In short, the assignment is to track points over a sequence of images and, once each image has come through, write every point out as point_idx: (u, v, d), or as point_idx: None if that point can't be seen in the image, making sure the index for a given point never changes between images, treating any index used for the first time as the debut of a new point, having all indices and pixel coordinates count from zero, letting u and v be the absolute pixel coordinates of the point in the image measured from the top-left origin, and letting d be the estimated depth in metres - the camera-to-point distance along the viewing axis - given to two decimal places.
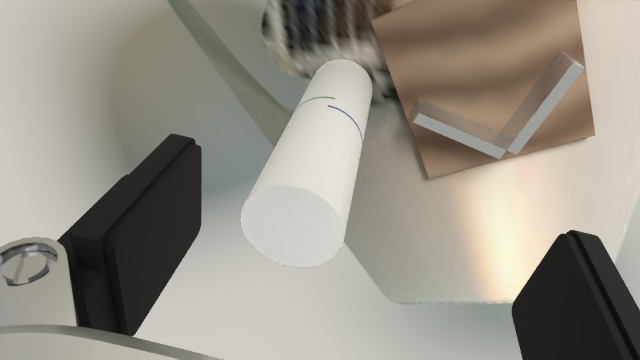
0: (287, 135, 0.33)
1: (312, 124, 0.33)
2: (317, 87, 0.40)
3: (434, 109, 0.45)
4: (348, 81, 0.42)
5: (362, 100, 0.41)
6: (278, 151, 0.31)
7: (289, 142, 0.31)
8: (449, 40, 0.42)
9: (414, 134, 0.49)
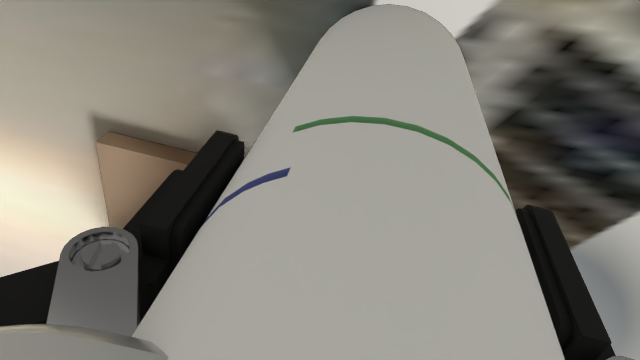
0: None
1: None
2: None
3: None
4: None
5: None
6: None
7: None
8: None
9: None
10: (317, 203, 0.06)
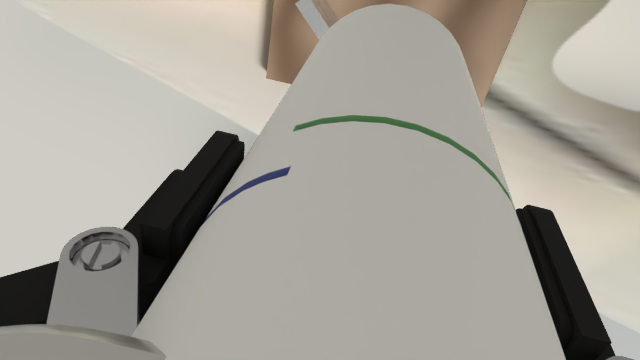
0: None
1: None
2: None
3: None
4: None
5: None
6: None
7: None
8: None
9: None
10: (317, 202, 0.06)
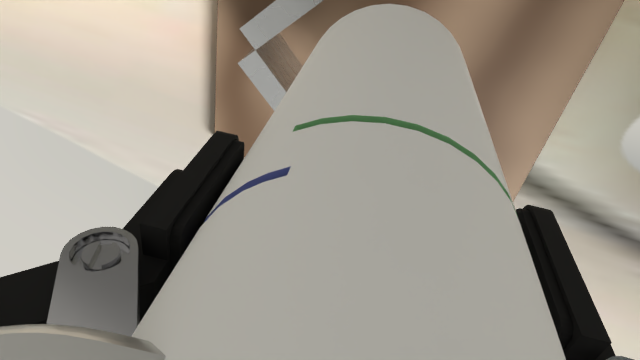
0: None
1: None
2: None
3: None
4: None
5: None
6: None
7: None
8: (502, 33, 0.22)
9: None
10: (317, 202, 0.06)
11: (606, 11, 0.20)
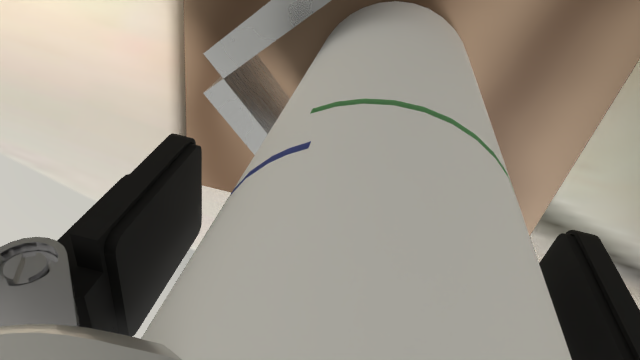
0: None
1: None
2: None
3: None
4: None
5: None
6: None
7: None
8: (517, 56, 0.18)
9: None
10: (337, 168, 0.07)
11: None
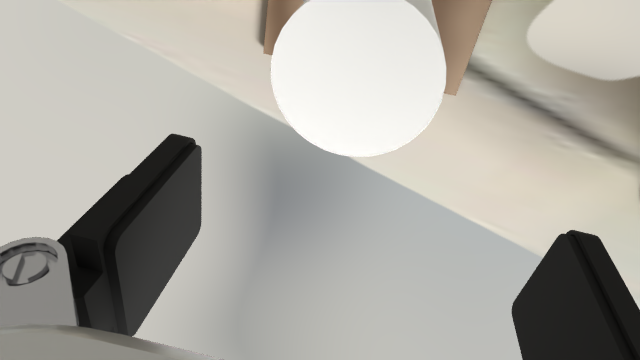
0: None
1: None
2: None
3: None
4: None
5: None
6: None
7: None
8: None
9: None
10: None
11: None
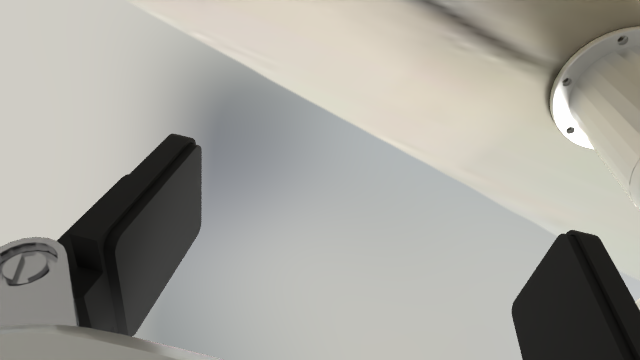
0: None
1: None
2: None
3: None
4: None
5: None
6: None
7: None
8: None
9: None
10: None
11: None
